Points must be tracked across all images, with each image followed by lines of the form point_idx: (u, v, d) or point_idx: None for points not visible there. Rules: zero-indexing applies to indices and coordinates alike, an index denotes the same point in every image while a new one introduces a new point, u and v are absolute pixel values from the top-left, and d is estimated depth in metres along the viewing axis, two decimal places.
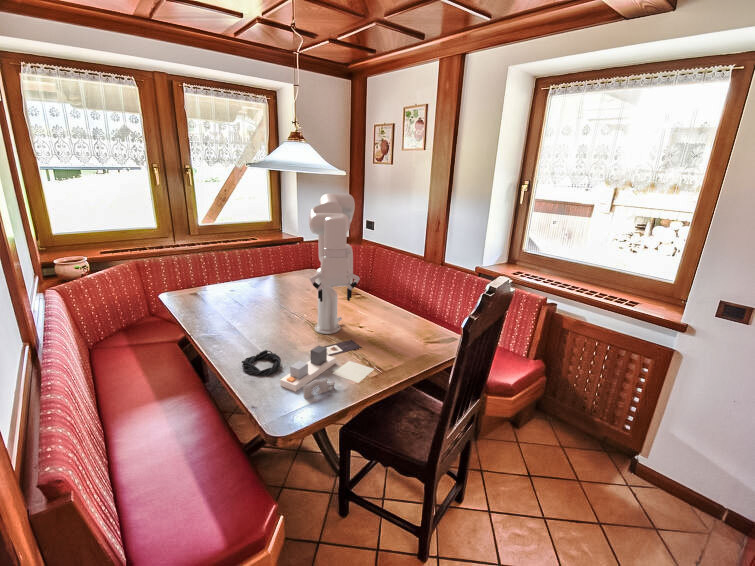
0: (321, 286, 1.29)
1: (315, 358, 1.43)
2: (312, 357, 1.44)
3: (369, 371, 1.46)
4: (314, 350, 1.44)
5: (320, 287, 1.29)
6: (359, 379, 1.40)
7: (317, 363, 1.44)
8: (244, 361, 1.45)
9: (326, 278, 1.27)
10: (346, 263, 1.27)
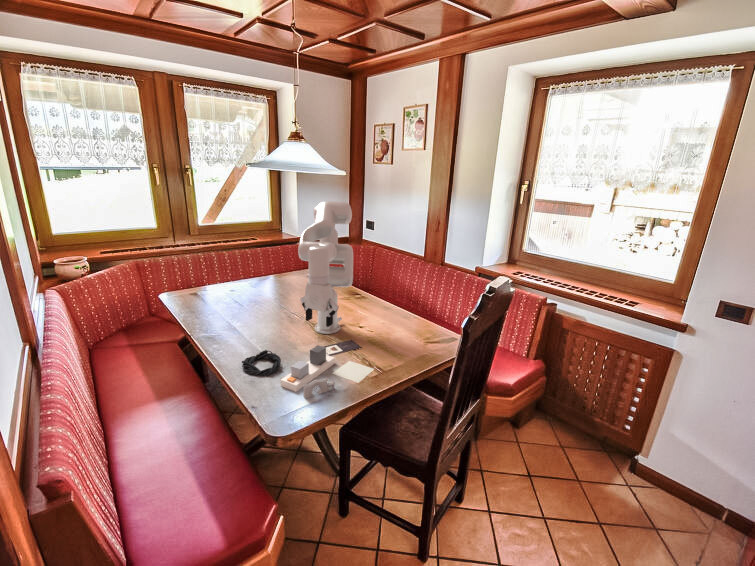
0: None
1: (315, 358, 1.43)
2: (311, 357, 1.44)
3: (369, 371, 1.46)
4: (313, 350, 1.44)
5: None
6: (359, 379, 1.40)
7: (316, 363, 1.44)
8: (244, 361, 1.45)
9: None
10: None
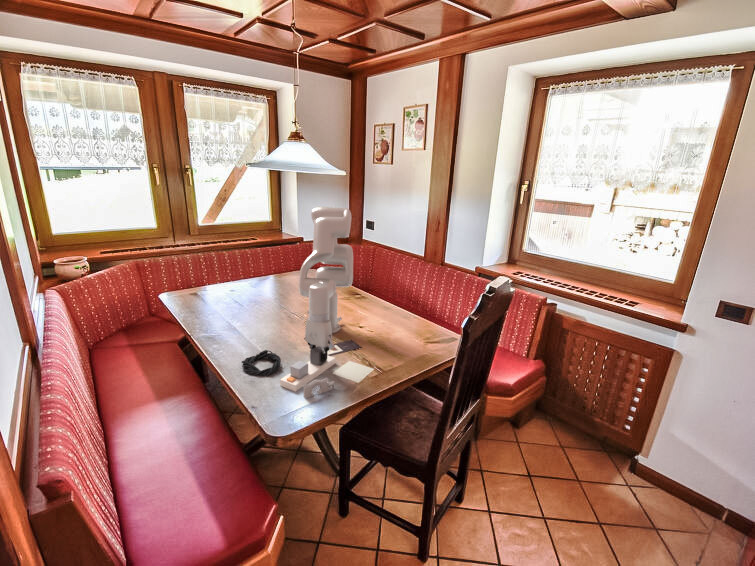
0: None
1: (315, 358, 1.43)
2: (312, 357, 1.44)
3: (369, 371, 1.46)
4: (314, 350, 1.44)
5: None
6: (359, 379, 1.40)
7: (317, 363, 1.43)
8: (244, 361, 1.45)
9: None
10: None
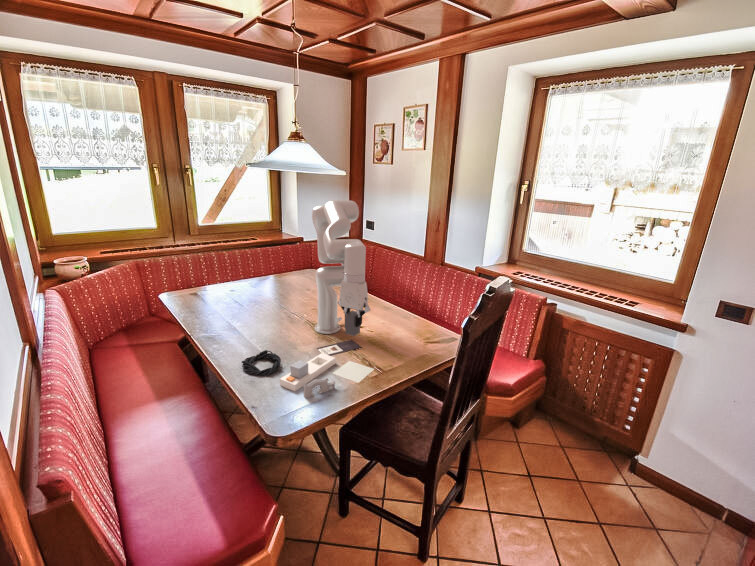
0: None
1: (350, 323, 1.37)
2: (346, 321, 1.38)
3: (369, 371, 1.46)
4: (348, 314, 1.37)
5: None
6: (359, 379, 1.40)
7: (351, 328, 1.37)
8: (244, 361, 1.45)
9: None
10: None
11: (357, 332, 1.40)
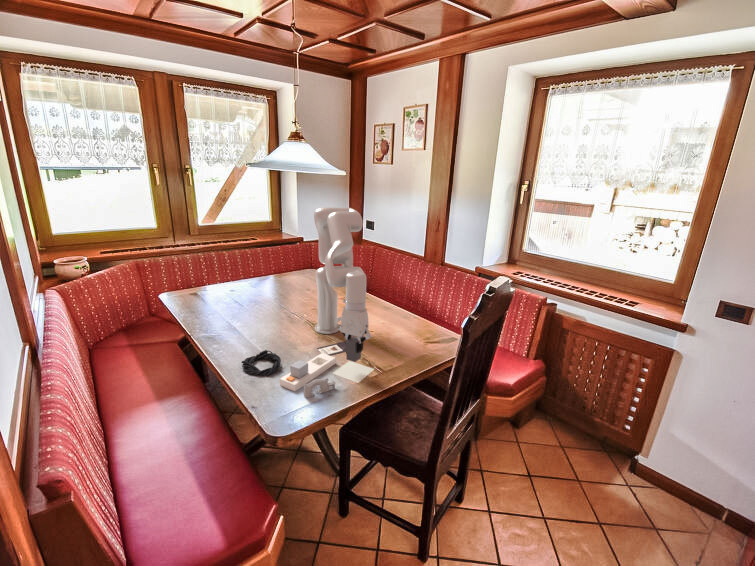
0: None
1: (351, 349, 1.40)
2: (347, 348, 1.40)
3: (369, 371, 1.46)
4: (350, 340, 1.40)
5: None
6: (359, 379, 1.40)
7: (353, 354, 1.40)
8: (244, 361, 1.45)
9: None
10: None
11: (358, 358, 1.43)
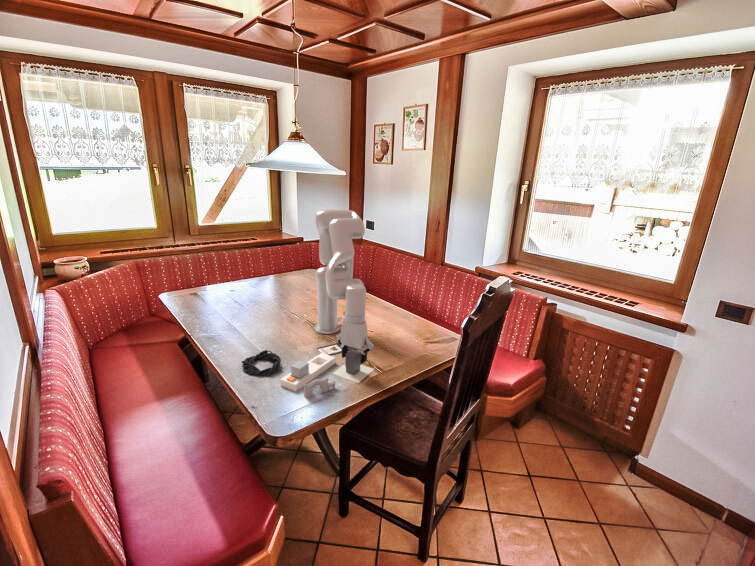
0: None
1: (350, 362, 1.42)
2: (347, 361, 1.42)
3: (369, 371, 1.46)
4: (349, 354, 1.42)
5: None
6: (359, 379, 1.40)
7: (352, 367, 1.42)
8: (244, 361, 1.45)
9: None
10: None
11: (357, 370, 1.45)
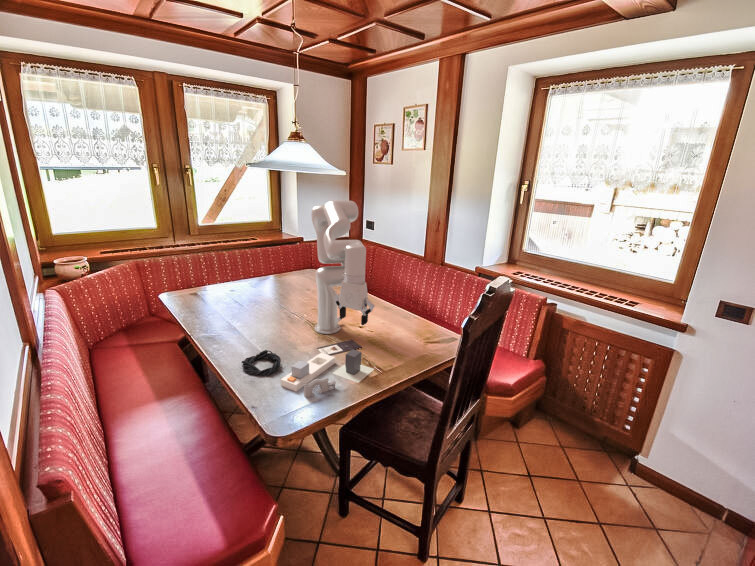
0: None
1: (350, 362, 1.42)
2: (347, 361, 1.42)
3: (369, 371, 1.46)
4: (349, 354, 1.42)
5: None
6: (359, 379, 1.40)
7: (352, 367, 1.42)
8: (244, 361, 1.45)
9: None
10: None
11: (357, 370, 1.45)
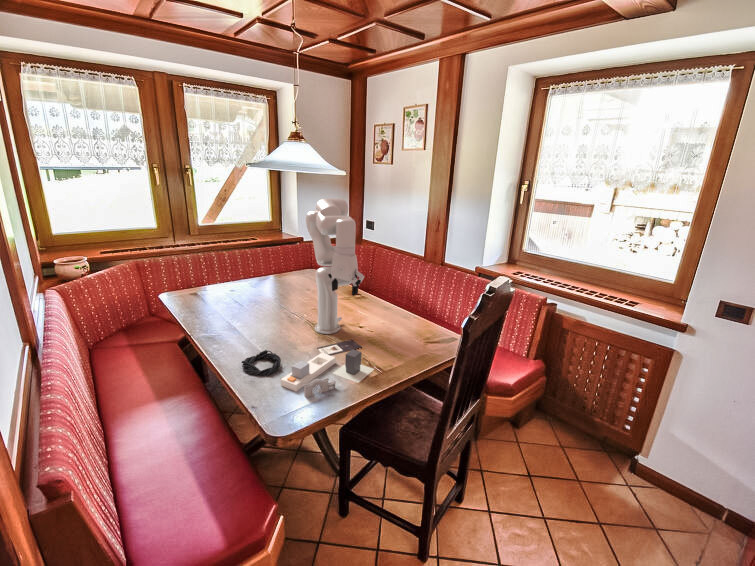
0: None
1: (350, 362, 1.42)
2: (347, 361, 1.42)
3: (369, 371, 1.46)
4: (349, 354, 1.42)
5: None
6: (359, 379, 1.40)
7: (352, 367, 1.42)
8: (244, 361, 1.45)
9: None
10: None
11: (357, 370, 1.45)
